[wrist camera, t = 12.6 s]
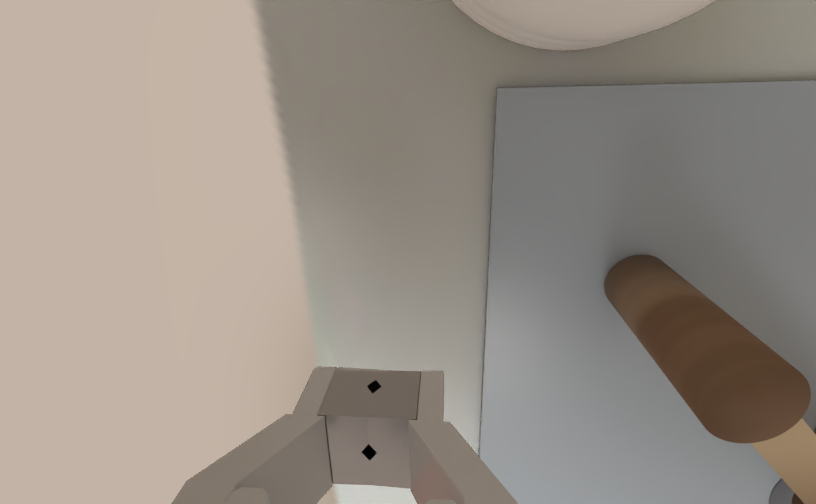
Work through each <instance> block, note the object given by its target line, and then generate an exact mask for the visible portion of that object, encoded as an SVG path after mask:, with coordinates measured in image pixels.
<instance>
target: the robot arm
mask: <svg viewBox="0 0 816 504" xmlns="http://www.w3.org/2000/svg"><path fill="white" fill-rule="evenodd" d="M443 412H444V372H443V371H422V372H421V371H393V370H376V369H360V368H343V367H338V368H337V367H320V366H317V367H316V368H315V369H314V370H313V372H312V374H311V376H310V378H309V380H308V382H307V384H306V386H305V389H304V391H303V393H302V395H301V397H300V399H299V401H298V403H297V405H296V407H295V410H294V412H293V414H285V415H284V416H283V417H281V418H280V419H278V420H277V421H275V422H274V423H272V424H271V425H269V426H268V427H266V428H265V429H263V430H262V431H260V432H259V433H257V434H256V435H254V436H253V437H251V438H250V439H248V440H247V441H245V442H244V443H242V444H241V445H239V446H238V447H236V448H235V449H233V450H232V451H230V452H229V453H227V454H226V455H225V456H223V457H221V458H220V459H219V460H217V461H216V462H214V463H213V464H211V465H210V466H208V467H207V468H205V469H204V470H202V471H201V472H199V473H198V474H196V475H195V476H193V477H192V478H190V479H189V480H187V481H186V482H185V484H184V486H183V487H182V489H181V490H180V492H179V493H178V495H177V496H176V498H175V499H174V501H173V502H172V504H317V502H318V501H319V500H320V499H321V498H322V497H323V496H324V495H325V494H326V493H327V491H328V490H329V489H330V488H331V487H332V484H358V485H377V486H388V487H399V488H410V489H411V492H412V494H413V496H414V498H415V500H416V502H417V504H518V503H517V501H516V500H515V499H514V498H513V497H512V496H511V494H510V493H509V492H508V491H507V490H506V488H505V487H504V486H503V485H502V484H501V482H500V481H499V480H498V479H497V478H496V476H495V475H494V474H493V473H492V472H491V470H490V469H489V468H488V467H487V466H486V464H485V463H484V462H483V461H482V460H481V459H480V457H479V456H478V455H477V454H476V453H475V451H474V450H473V449H472V448H471V447H470V445H469V444H468V443H467V442H466V441H465V439H464V438H463V437H462V436H461V435H460V433H459V432H458V431H457V430H456V429H455V427H454V426H453V425H452V424H451V423H450V422H443Z"/></svg>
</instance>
